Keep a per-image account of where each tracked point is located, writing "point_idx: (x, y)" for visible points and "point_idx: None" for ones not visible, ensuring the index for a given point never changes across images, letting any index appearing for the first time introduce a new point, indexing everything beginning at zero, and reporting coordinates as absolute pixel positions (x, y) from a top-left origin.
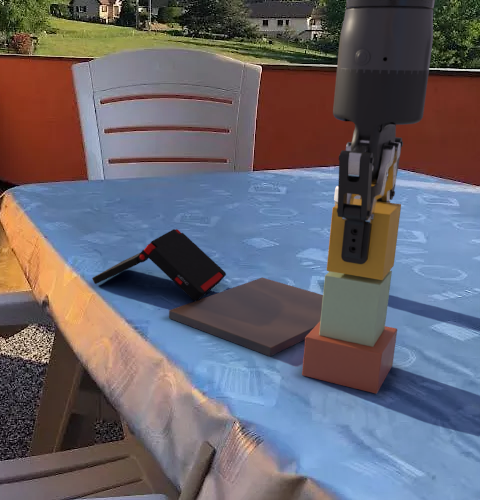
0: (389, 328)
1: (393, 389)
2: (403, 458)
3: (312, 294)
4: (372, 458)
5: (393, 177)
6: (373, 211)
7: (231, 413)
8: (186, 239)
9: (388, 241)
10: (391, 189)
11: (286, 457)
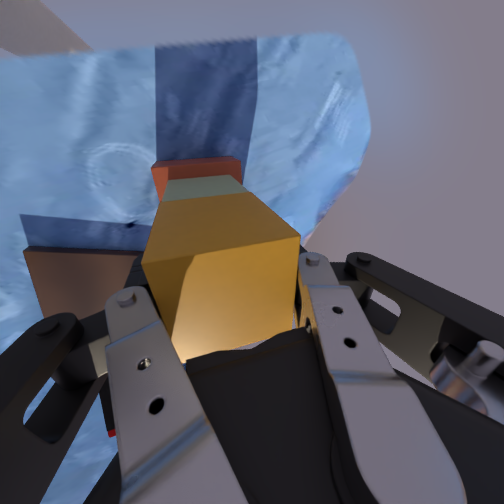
0: (159, 176)
1: (210, 144)
2: (322, 103)
3: (49, 301)
4: (330, 127)
5: (174, 352)
6: (310, 267)
7: (312, 230)
8: (112, 420)
9: (259, 212)
10: (61, 341)
11: (346, 180)
